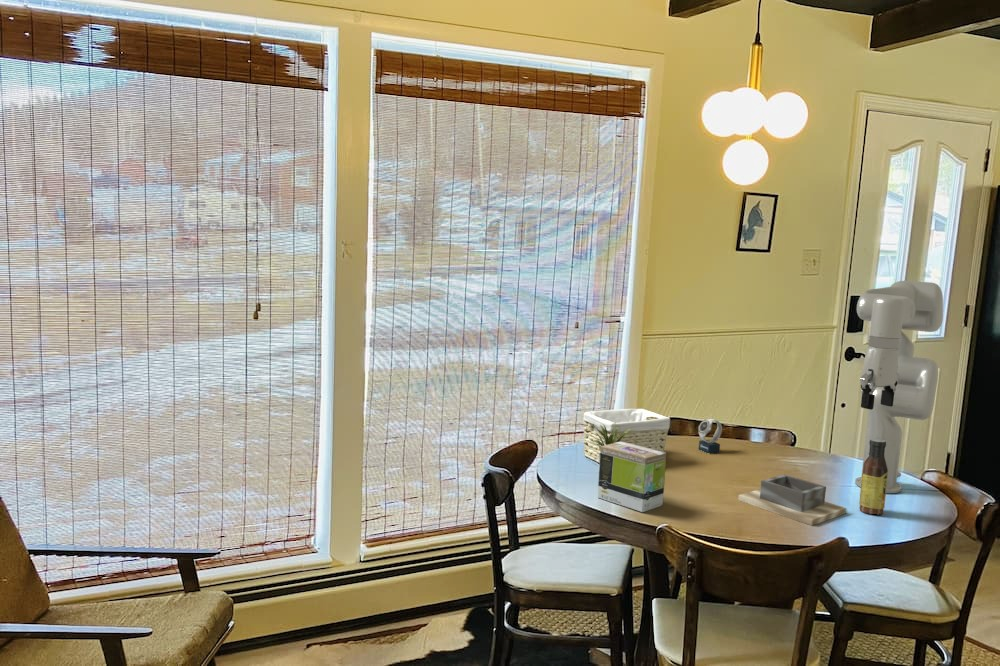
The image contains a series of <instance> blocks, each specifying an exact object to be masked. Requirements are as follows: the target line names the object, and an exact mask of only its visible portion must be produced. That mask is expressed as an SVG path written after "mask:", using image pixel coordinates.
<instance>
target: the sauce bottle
mask: <svg viewBox="0 0 1000 666" xmlns="http://www.w3.org/2000/svg"><path fill="white" fill-rule="evenodd" d="M869 445H870V451H869V457H868V458H867V459H866V460H865V462H864V464H863V463H862V467H863V472H862V471H861V476H862V480H861V487H860V493H859V507H858V509H859V511H860V512H862V513H864V514H867V513H869V514H868V515H872V514H877V515H876V516H878V515H879V514H880V515H882V514H883V513H884V509H885V505H886V504H885V503H886V495H887V493H886V487H887V476H888V469H887V465H886V461H885V457H884V456H885V455H884V453H885V447H886V441H885V440H881V439H870V442H869Z"/></svg>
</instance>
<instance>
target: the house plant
mask: <svg viewBox="0 0 1000 666" xmlns="http://www.w3.org/2000/svg"><path fill="white" fill-rule="evenodd" d="M587 424H588V423H587ZM591 425H592V424H591ZM614 425H615V424H614ZM593 426H594V425H593ZM601 426H602V425H601ZM601 426H600V427H601ZM603 426H604V428H605V429H604V428H603ZM603 426H602V427H601V428H602V431H603V433H604V434H603V433H602V432H601V431H599V430H598V429H597V430H598V431H599V433H600V434H602V435H601V436H603V437H604V438H603V437H602V438H603V440H604V442H606V443H605V444H606V445H608V444H613V443H615V440H616V437H617V433H618V429H619V428H618V427H616V430H615V432H614V433H615V435H614V434H613V435H614V438H613V435H612V433H613V429H612V433H611V435H610V436H609V438H608V435H607V430H606V427H605V425H604V424H603ZM594 427H595V426H594ZM613 428H614V426H613ZM631 429H632V428H630V429H628V430H626V431H625V432H624V433H623V434H622V435H621V436H620V437H619V438H618V440H617V442H620V440H621V439H622V438H623V437H624V436H625V435H626V434H628V433H627V432H628V431H629V430H631ZM596 434H597V433H596ZM597 435H598V434H597ZM598 436H599V435H598ZM599 438H600V440H601V441H602V439H601V437H600V436H599ZM593 442H596V443H598V444H597V445H598V446H599V450H601V446H604V443H603V441H602V443H601V442H600V441H598V440H594V441H593ZM617 442H616V443H617ZM626 443H629V442H626ZM600 445H601V446H600ZM599 465H600V453H599Z"/></svg>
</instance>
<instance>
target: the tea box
mask: <svg viewBox="0 0 1000 666" xmlns="http://www.w3.org/2000/svg"><path fill="white" fill-rule="evenodd" d="M666 462H667V452H665V451H664V452H662V451H658V450H654V449H650V448H646V447H642V446H639V445H634V444H630V443H626V442H623V441H621V442H617V443H613V444H608V445H604V446H601V451H600V464H599V467H598V468H599V470H598V484H597V485H598V486H597V498H598V499H601V500H603V501H604V500H605V501H606V502H607V501H608V502H610V503H613V504H617V505H620V506H623V507H624V508H625V507H626V508H629V509H632V510H635V511H638V512H640V513H644V512H647V511H651V510H653V509H656V508H659V507H662V506H663V504H664V503H663V502H664V494H665V493H664V491H665V481H666V479H665V478H666V477H665V476H666V464H667V463H666Z"/></svg>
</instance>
